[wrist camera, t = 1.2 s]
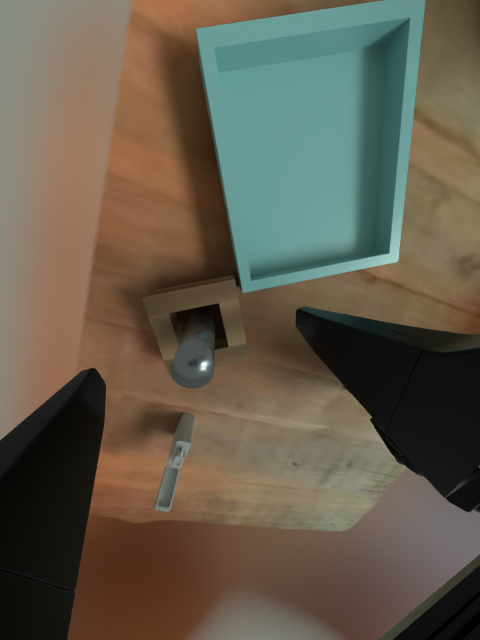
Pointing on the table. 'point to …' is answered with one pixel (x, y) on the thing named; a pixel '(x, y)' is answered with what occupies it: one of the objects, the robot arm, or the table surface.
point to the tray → (313, 136)
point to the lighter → (175, 462)
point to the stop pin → (195, 351)
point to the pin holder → (193, 295)
